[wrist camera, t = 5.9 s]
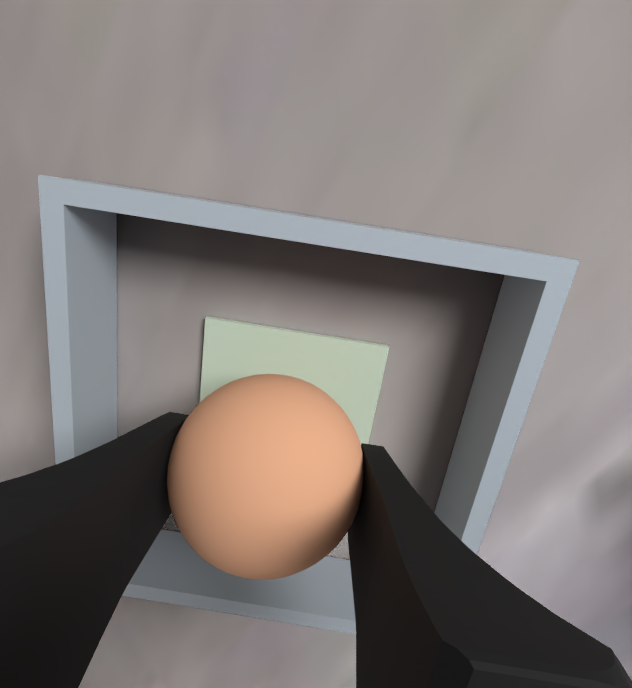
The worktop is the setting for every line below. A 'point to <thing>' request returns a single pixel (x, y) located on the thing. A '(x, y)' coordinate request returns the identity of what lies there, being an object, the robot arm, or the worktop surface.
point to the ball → (265, 476)
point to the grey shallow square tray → (284, 373)
